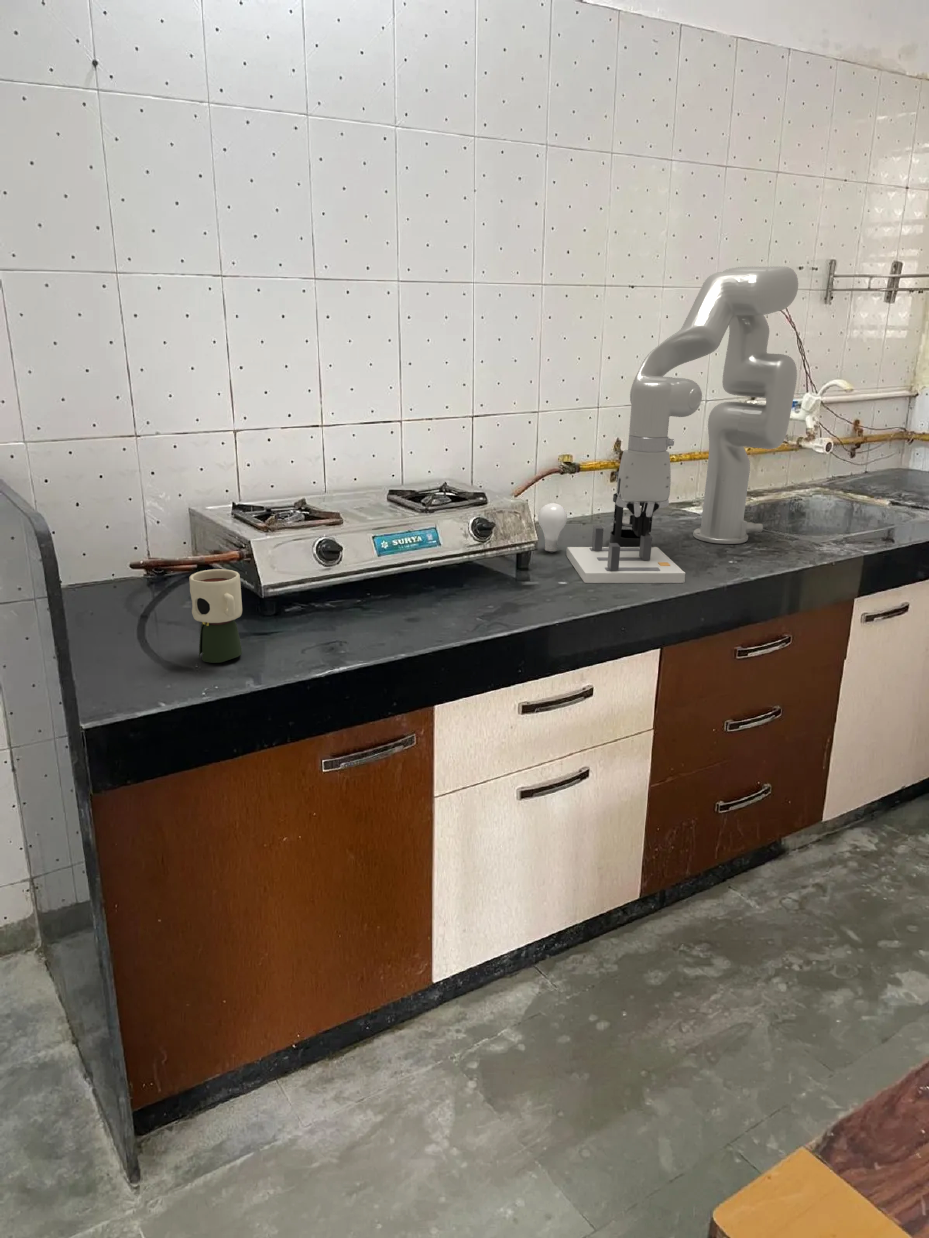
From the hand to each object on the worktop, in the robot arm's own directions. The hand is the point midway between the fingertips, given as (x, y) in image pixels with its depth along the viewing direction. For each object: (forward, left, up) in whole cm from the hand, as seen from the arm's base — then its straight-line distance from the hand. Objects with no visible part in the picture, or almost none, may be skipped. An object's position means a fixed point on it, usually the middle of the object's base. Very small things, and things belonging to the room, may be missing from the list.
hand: (639, 534), depth 179 cm
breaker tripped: (-1, 0, -5) cm, 5 cm away
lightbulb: (+16, -13, -8) cm, 22 cm away
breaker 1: (+7, -7, -5) cm, 11 cm away
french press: (-3, -17, -8) cm, 19 cm away
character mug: (+76, +48, -8) cm, 90 cm away
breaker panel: (+3, 0, -7) cm, 8 cm away
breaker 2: (+7, +8, -5) cm, 11 cm away
